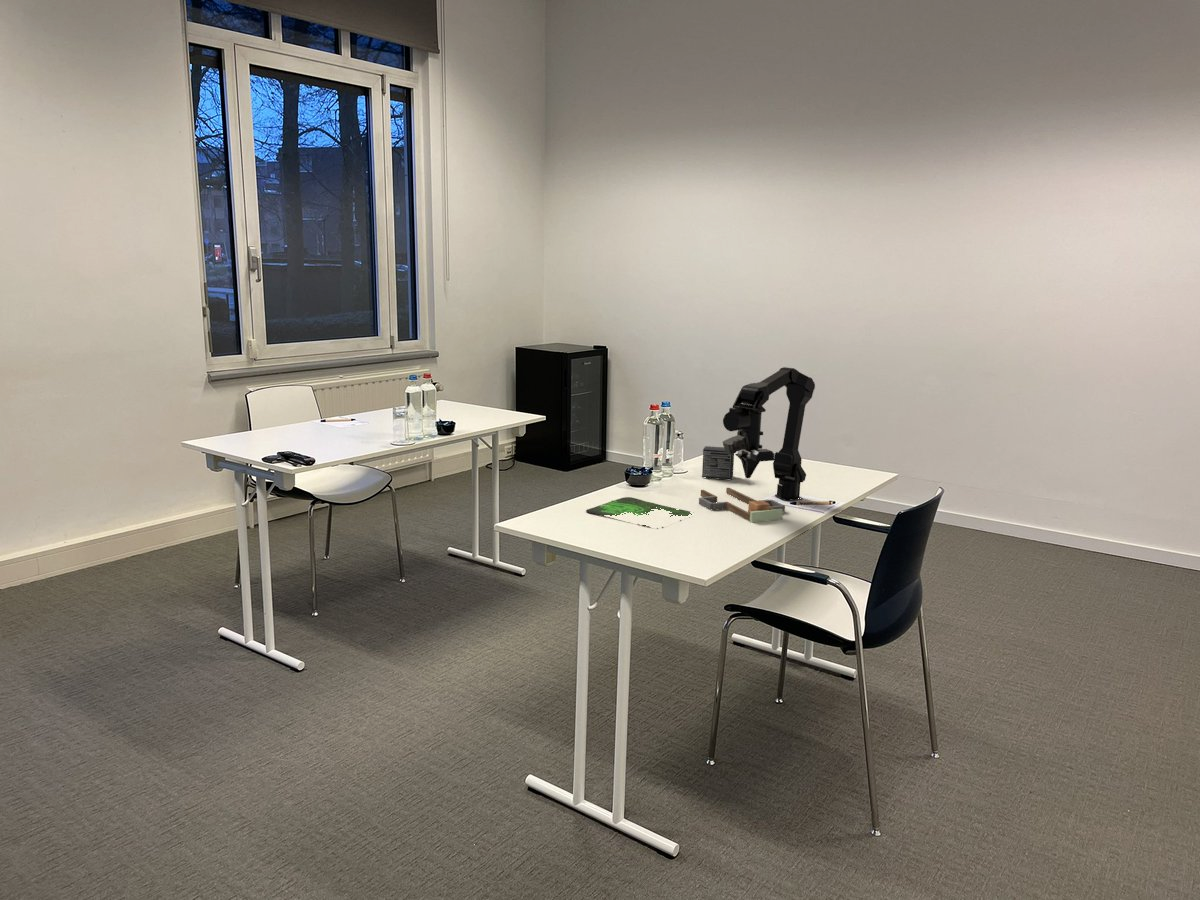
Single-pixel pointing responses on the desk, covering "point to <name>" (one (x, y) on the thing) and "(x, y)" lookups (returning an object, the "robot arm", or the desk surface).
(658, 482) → the desk surface
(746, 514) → the lane walls
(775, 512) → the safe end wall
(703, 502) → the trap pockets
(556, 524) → the desk surface
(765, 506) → the wooden cube
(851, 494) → the desk surface
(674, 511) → the mouse mat
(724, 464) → the small box
